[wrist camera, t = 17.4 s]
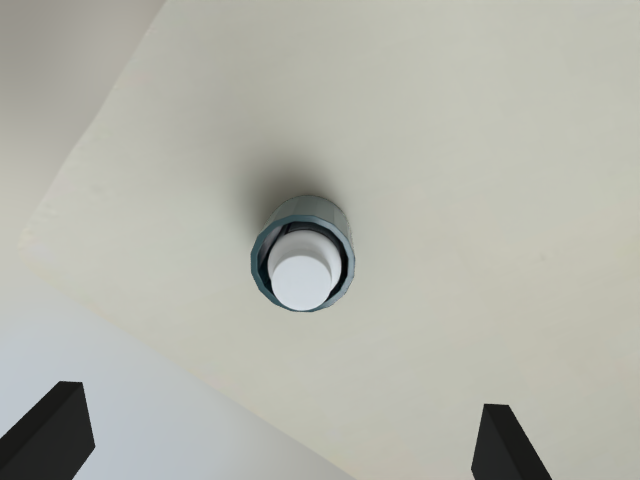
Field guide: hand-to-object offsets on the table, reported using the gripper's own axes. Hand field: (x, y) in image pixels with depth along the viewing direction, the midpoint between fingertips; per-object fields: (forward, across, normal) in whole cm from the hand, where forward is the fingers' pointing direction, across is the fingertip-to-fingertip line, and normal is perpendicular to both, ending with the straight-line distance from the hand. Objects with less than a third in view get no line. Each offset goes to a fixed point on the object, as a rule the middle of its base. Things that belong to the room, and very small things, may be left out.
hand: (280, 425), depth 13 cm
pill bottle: (+23, 0, -1) cm, 23 cm away
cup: (+23, -1, -1) cm, 23 cm away
